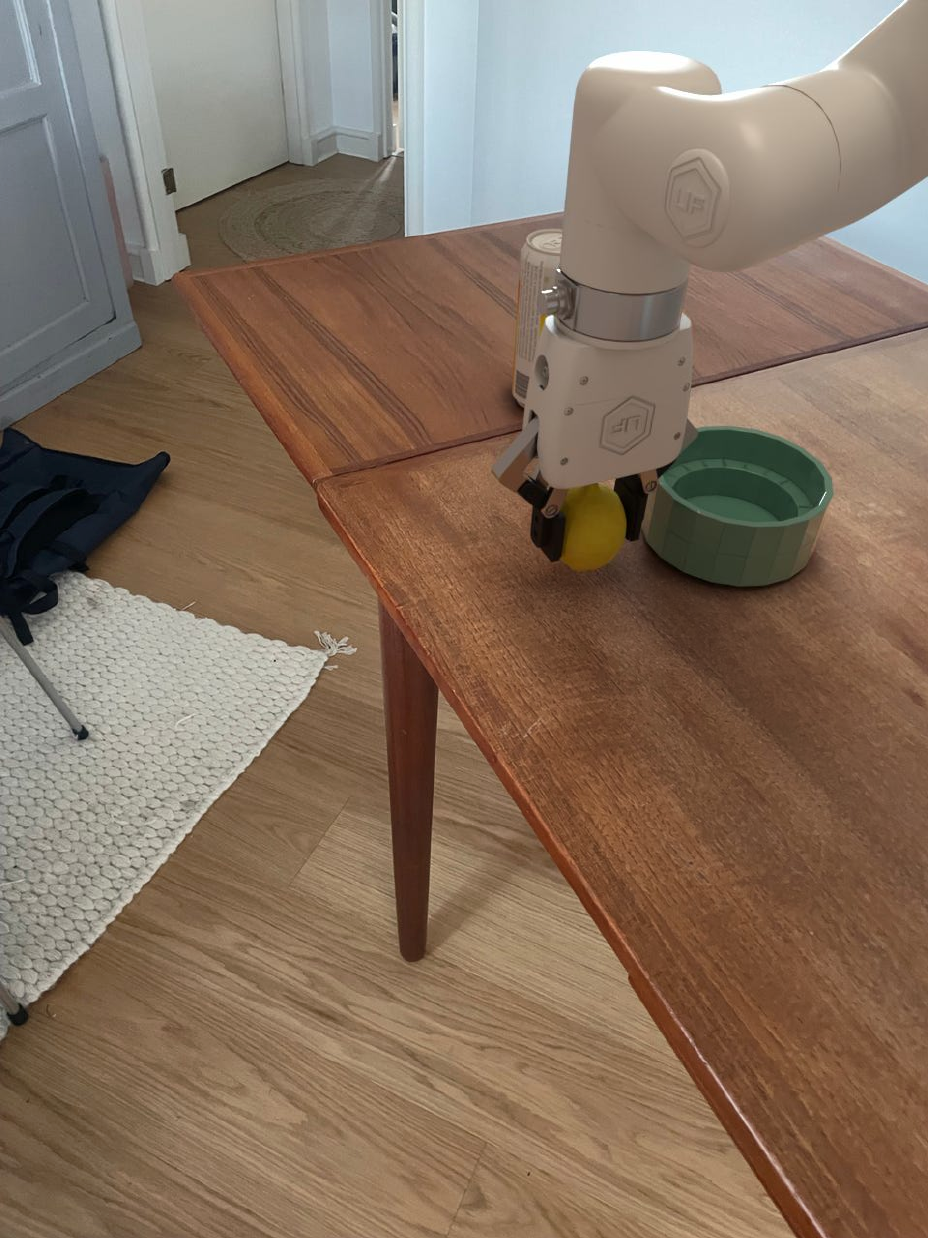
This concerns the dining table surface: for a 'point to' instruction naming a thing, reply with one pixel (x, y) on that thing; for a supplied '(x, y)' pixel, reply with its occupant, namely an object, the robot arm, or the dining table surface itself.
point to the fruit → (592, 527)
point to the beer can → (532, 301)
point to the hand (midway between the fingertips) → (585, 538)
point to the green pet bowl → (739, 507)
